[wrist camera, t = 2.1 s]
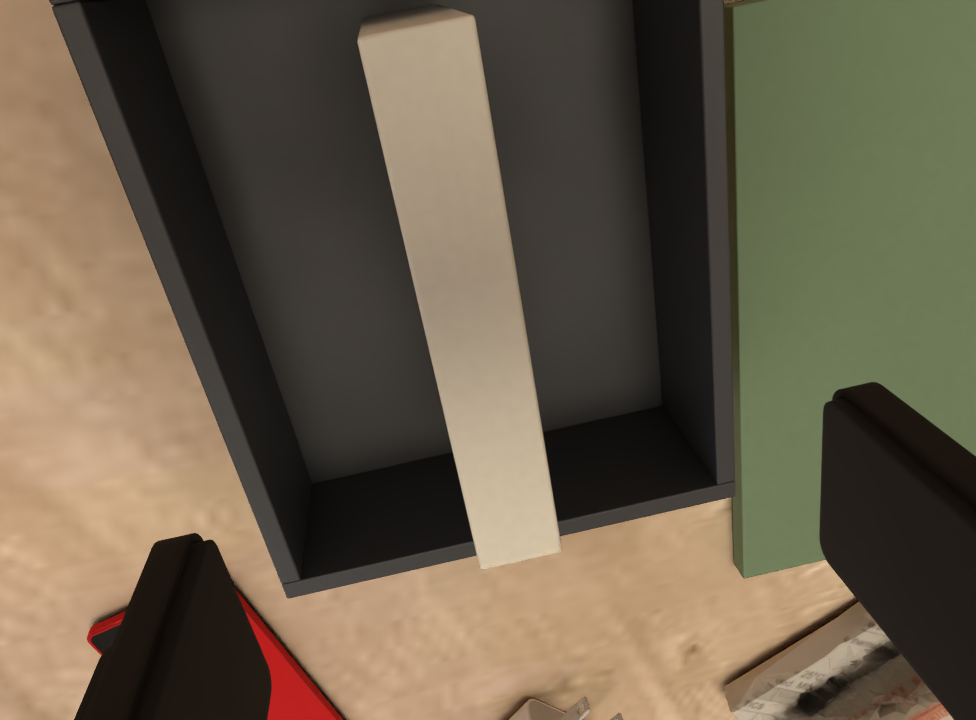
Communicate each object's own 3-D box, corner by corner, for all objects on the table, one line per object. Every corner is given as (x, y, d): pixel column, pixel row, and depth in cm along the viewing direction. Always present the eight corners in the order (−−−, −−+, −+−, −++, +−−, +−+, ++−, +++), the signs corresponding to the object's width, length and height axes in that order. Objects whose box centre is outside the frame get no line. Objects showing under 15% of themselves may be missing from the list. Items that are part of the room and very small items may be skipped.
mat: (718, 5, 22) (732, 6, 22) (1053, -61, 23) (1081, -63, 22) (733, 563, 32) (743, 579, 32) (965, 508, 33) (981, 523, 32)
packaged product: (1169, 541, 28) (1218, 673, 33) (1063, 468, 33) (1119, 593, 37) (760, 780, 31) (854, 872, 36) (713, 684, 36) (802, 776, 40)
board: (361, 18, 21) (355, 37, 14) (439, 3, 21) (474, 14, 14) (451, 415, 27) (480, 571, 20) (512, 402, 27) (562, 552, 20)
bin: (118, -25, 20) (36, -27, 15) (638, -124, 21) (721, -156, 16) (301, 491, 28) (287, 599, 23) (673, 408, 29) (736, 496, 24)
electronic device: (396, 782, 36) (219, 567, 29) (397, 793, 35) (217, 577, 28) (286, 828, 36) (85, 626, 29) (285, 840, 35) (80, 637, 29)
